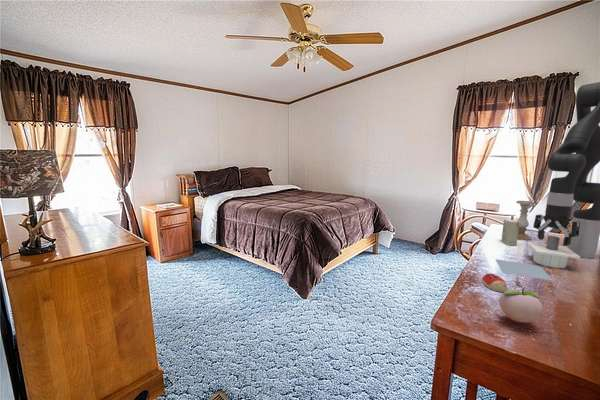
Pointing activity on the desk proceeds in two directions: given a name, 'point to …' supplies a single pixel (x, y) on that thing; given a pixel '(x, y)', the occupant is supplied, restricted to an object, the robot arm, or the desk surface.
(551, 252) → the lid
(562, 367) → the desk surface
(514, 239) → the skincare box
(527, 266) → the mat
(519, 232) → the candle holder
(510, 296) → the decorative fruit
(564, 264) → the bowl
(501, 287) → the ladybug figurine
